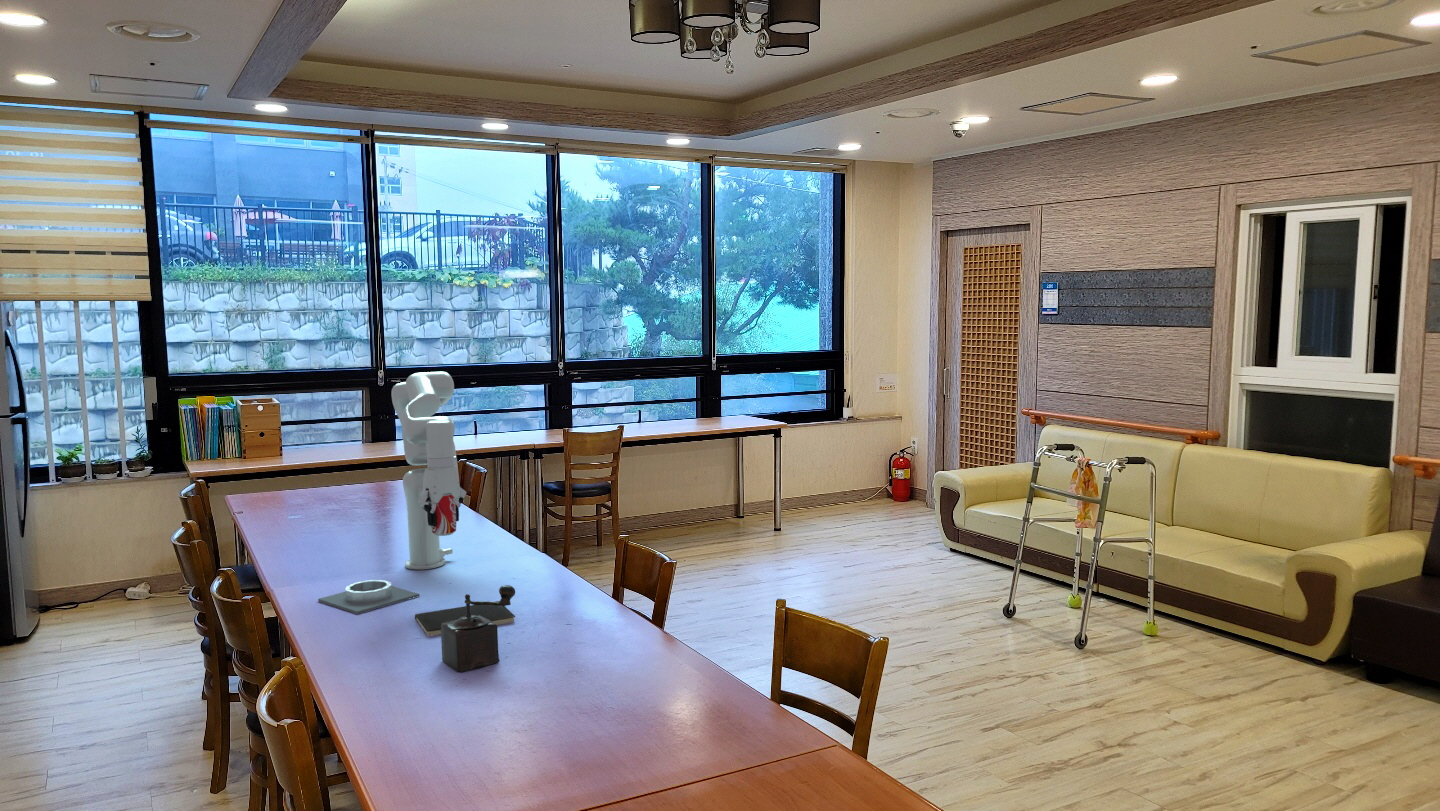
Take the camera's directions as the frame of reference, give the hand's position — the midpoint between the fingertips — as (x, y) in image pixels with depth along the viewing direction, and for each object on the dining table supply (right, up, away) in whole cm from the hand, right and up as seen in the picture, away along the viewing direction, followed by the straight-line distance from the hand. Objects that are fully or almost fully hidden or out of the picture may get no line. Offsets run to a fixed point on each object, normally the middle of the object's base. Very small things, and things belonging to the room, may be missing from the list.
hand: (443, 522), depth 289 cm
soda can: (0, -3, 0) cm, 3 cm away
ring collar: (-22, -22, 0) cm, 31 cm away
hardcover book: (+12, -25, -21) cm, 35 cm away
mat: (-22, -22, 0) cm, 31 cm away
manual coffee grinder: (+23, -27, -50) cm, 62 cm away
